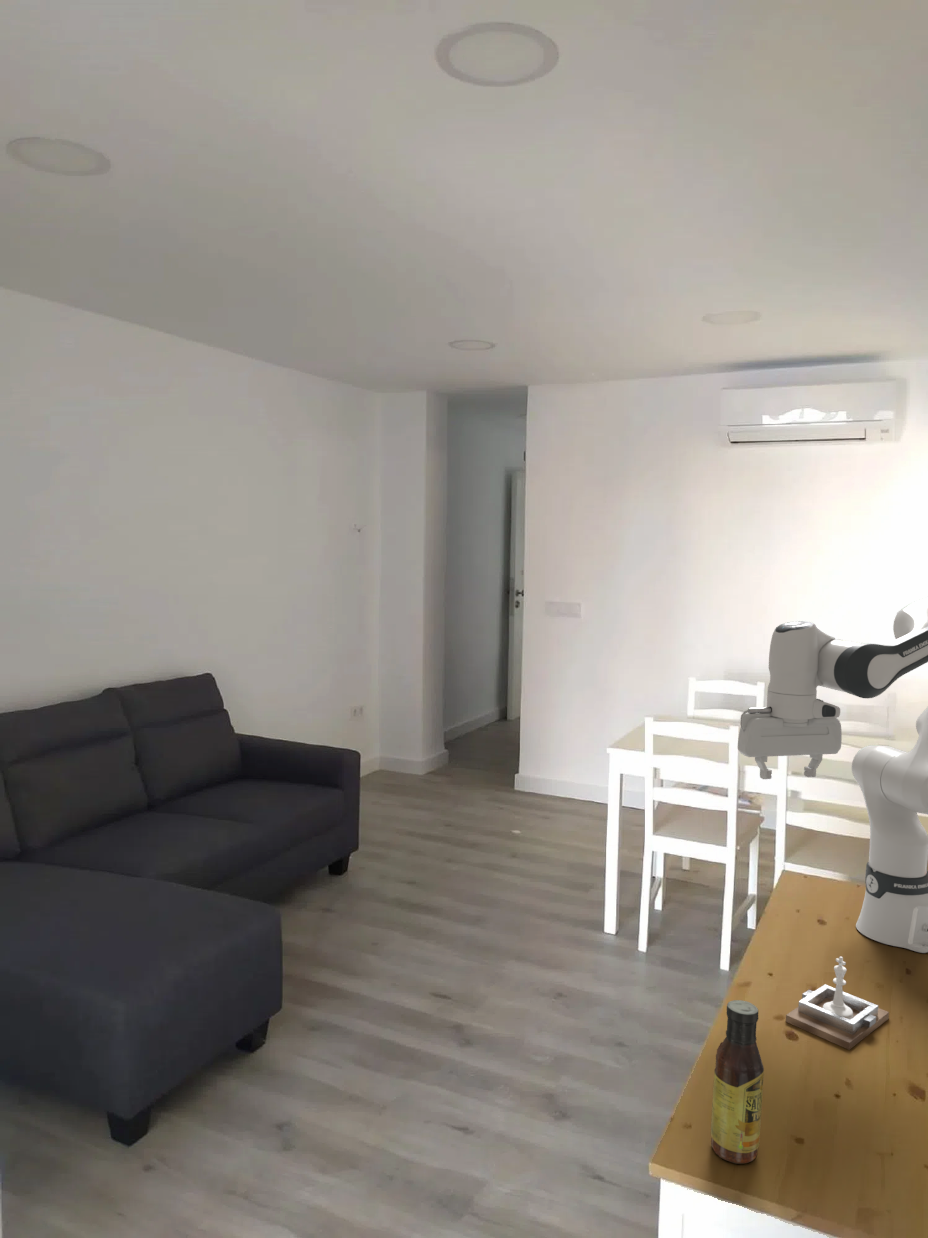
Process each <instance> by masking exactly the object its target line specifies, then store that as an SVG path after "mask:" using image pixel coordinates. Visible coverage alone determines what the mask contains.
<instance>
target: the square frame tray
mask: <svg viewBox="0 0 928 1238" xmlns="http://www.w3.org/2000/svg"><path fill="white" fill-rule="evenodd" d="M835 989H836V987H832V986H830V985H828V984H827V983H825V984H823V985H821V986H820V987H818V988H817V989H815V990H812V989H808V990H806V991H804V992H803V993H802V994H801V995H802V997H801V999H800V1000H799V1001H798V1006H797V1007H798V1012H801V1013H803V1014H805V1015H808V1016H810V1017H812V1018H815V1019H817V1020H819V1021H822V1022H824V1023H826V1024H829V1025H831V1026H833V1027H836V1028H838V1029H840V1030H843V1031H845V1032H847V1033H849V1034H852V1035H853V1034H855V1033H856V1032H857V1031H858V1030H860V1029H861V1028H862V1027H864V1026H867V1027H869V1028H870V1027H871V1026H872V1025H873V1024H875V1023H876V1017H877V1016H878V1008H879V1004H875V1003H873V1002H870V1001H868V1000H865V999H863V998H860V997H858V996H855V995H852V994H850V993H848V992H845V991H843V1002H844V1004H845V1005H846V1006H848V1007H851V1008H853V1009H855V1010H858V1011H860V1013H859V1014H857V1015H856V1016H855V1017H853V1018H852V1019H851V1020H849V1019H847V1018H845V1017H842V1016H840V1015H837V1014H835V1013H833V1012H830V1011H828V1010H825V1009H823V1008H821V1007H818V1006H816V1005H817V1004H819V1003H820V1002H822V1001H823V1000H825V999H826V998H829V999H831V1000H833V999H834V994H835Z"/></svg>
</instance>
